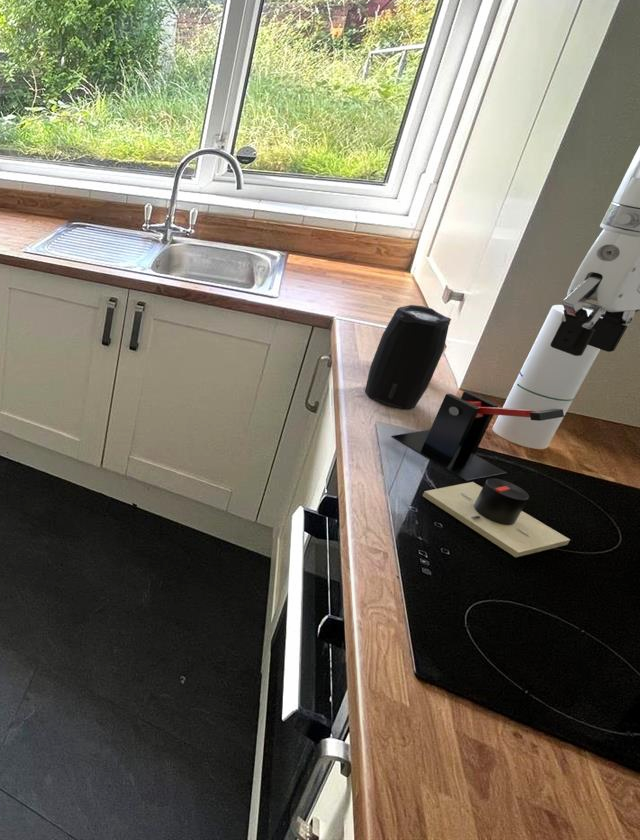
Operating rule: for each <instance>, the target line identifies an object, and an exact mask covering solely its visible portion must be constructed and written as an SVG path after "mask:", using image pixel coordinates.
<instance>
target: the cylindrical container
mask: <svg viewBox="0 0 640 840" xmlns="http://www.w3.org/2000/svg"><path fill="white" fill-rule="evenodd" d="M583 309H584V310H586V311H587V315H588V316H589V315H590V314H591V312H592V311H593V310H592V309H588V308H585V307H583ZM564 310H565V309H564V306H563V304H553V305H552V306H551V308H550V309H549V312H548V314H547V316H546V318H545V320H544V322H543V324H542V326H541V328H540V330H539V333H538V334H537V336H536V339H534V340H535V341H534V342H533V344H532V347H531V349H530V350H529V353H528V355H527V357H526V359H525V360H524V363H523V364H522V367H521V369H520V371H519V373H518V374H517V377H516V380H515V381H514V383H513V386H512V388H511V389H510V391H509V393H508V395H507V398H506V400H505V402H504V403H503V406H502V408H513V409H528V410H549V409H563V413H564V417H560V418H554V419H548V420H542V421H536V420H531V418H530V417H518V416H505V415H497V418H496V420H495V422H494V424H493V426H492V431H493V433H495V434H496V435H497V436H499V437H501V438H503V439H504V440H506V441H508V442H511V443H513V444H516V445H518V446H521V447H525V448H529V449H533V450H545V449H547V448H549V446H550V443H551V442H552V441H553V438H554V436H555V434H556V432H557V431H558V429H559V427H560V425H561V423H562V422H563V419H564V418H565V416H566V414H567V412H568V410H569V408H570V406H571V404H572V403H573V401H574V399H575V397H576V395H577V394H578V391H579V390H580V388H581V386H582V385H583V383H584V380H585V379H586V377H587V375H588V374H589V371H590V370H591V368H592V366H593V364H594V362H595V361H596V359H597V357H598V356H599V355H598V354H599V353H600V351H601V349H598V348H595V347H593V346H590V345H587V347H586V348H585V350H584V352H583V354H582V355H580V356H574V355H572V354H569V353H566V352H563V351H561V350H558V349H555V348H553V347H551V342H552V340H553V338H554V336H555V334H556V332H557V330H558V328H559V326H560V324H561V322H562V321H561V318H562V316H563V315H564ZM600 318H602V317H600Z"/></svg>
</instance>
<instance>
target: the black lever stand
mask: <svg viewBox="0 0 640 840" xmlns="http://www.w3.org/2000/svg"><path fill="white" fill-rule="evenodd" d="M467 401H481V404H482V407H498V408H499V404H497V403H494V401H493V402H492V401H491V400H488V399H486V398H484V397H482V396H480V395H478V394H476V393H473V392H471V391H470V390H466V391H465V390H464V391H463V392H462V395H461V397H458V396H456V395H454V394H453V393H446V394H445V395H444V398H443V400H442V401H441V404H440V406H439V408H438V411H437V413H436V415H435V418H434V420H433V422H432V425H431V426H430V429H426V430H425V429H424V430H419V431H412V432H407V433H406V432H405V433H401V434H394V435H391V436H390V437H391V438H392V439H394V440H396V441H398V442H399V443H401V444H402V445H404V446H406V447H407V448H409V449H410V450H413V451H414V452H415V453H417V454H419V455H420V456H423V457H424V458H426V459H428V460H429V461H431V462H432V463H434V464H436V465H438V466H439V467H441V468H442V469H444V470H446V471H448V472H449V473H451V474H453V475H454V476H455V477H457V478H459V479H461V480H462V481H465V482H472V481H475V480H481V479H487V478H493V477H497V476H501V475H507V474H508V472H507V471H505V470H504V469H502V468H500V467H498V466H496V465H494V464H493V463H492V462H489V461H487V460H486V459H483V458H482V457H480V456H478V455H476V452H477V451H478V448H479V446H480V444H481V442H482V440H483V438H484V436H485V434H486V432H487V429H488V428H489V426H490V424H491V422H492V420H493V417H494V415H492V414H483V417H477V418H476V416H477V413H478V411H479V409H480V408H479V407H477V406H475V405H473V404H471V403H469V402H467Z"/></svg>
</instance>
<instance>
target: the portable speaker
mask: <svg viewBox="0 0 640 840" xmlns="http://www.w3.org/2000/svg"><path fill="white" fill-rule="evenodd" d="M451 321H452V318H450V317H448V316H445V315H443V314H442V313H439V312H437V310H435V309H433V308H431V307H427V306H423V305H416V304H408V305H405V306H399V307H397V309H396V310H395V311H394V313H393V316H392V317H391V319H390V320H389V322H388V324H387V326H386V328H385V329H384V331H383V333H382V335H381V337H380V340H379V343H378V346H377V347H376V351H375V352H374V353H375V354H374V356H373V359H372V361H371V364H370V367H369V371H368V376H367V380H366V385H365V389H364V393H365V394H366V396H367V397H368V398H369V399H371V400H372V401H374V402H376V403H378V404H380V405H382V406H386V407H388V408H391V409H392V408H393V409H397V410H404V411H407V410H412V409H415V408H416V406H417V405H418V403H419V402H420V400H421V398H422V397H423V395H424V393H426V391H427V389H428V388H429V385H430V383H431V380H432V378H433V376H434V374H435V372H436V369H437V367H438V364H439V362H440V361H441V357H442V355H443V353H444V350H445V346H446V341H447V336H448V332H449V327H450V324H451Z"/></svg>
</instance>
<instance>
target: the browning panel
mask: <svg viewBox="0 0 640 840" xmlns="http://www.w3.org/2000/svg"><path fill="white" fill-rule="evenodd" d="M482 488H483V486H481V485H479V484H477V483H476V482H474V481H468V482H465V483H459V484H454V485H449V486H444V487H439V488H434V489H429V490H424V492H423V494H422V498H425V499H426V500H428V501H429V502H430V503H432V504H434V505H435V506H436V507H438V508H440V509H442V510H443V511H444V512H446V513H448V514H449V515H451V516H452V517H453V518H455V519H456V520H458V521H460V522H461V523H462V524H464V525H465V526H467V527H469V528H470V529H472V530H473V531H475V532H476V533H478V534H479V535H481V536H482V537H483V538H486V539H487V540H488V541H490V542H491V543H493V544H494V545H496V546H497V547H499V548H500V549H502V550H504V552H506V553H508V554H510V555H511V556H512V557H513V558H519V557H523V556H527V555H528V556H529V555H532V554H535V553H540V552H543V551H547V550H552V549H556V548H559V547H563V546H567V545H568V544H569V543H570V541H571V539H570V538H569V537H567V536H565V535H564V534H562V533H560V532H558V531H557V530H555V529H553V528H552V527H550V526H548V525H546V524H545V523H543V522H541V521H540V520H538V519H536V518H535V517H533V516H532V515H530V514H528V513H526V512H525V511H523V510H522V511H521V513H520V515H519V517H518V518H517V520H516V522H515V524H513V525H504V524H499V523H496V522H494V521H491V520H489V519H487V518H485V517H484V516H482V515H481V514H479V513H478V512H477V511H476V510H475V508H474V504H475V502H476V500H477V498H478V496H479V494H480V492H481V490H482Z"/></svg>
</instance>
